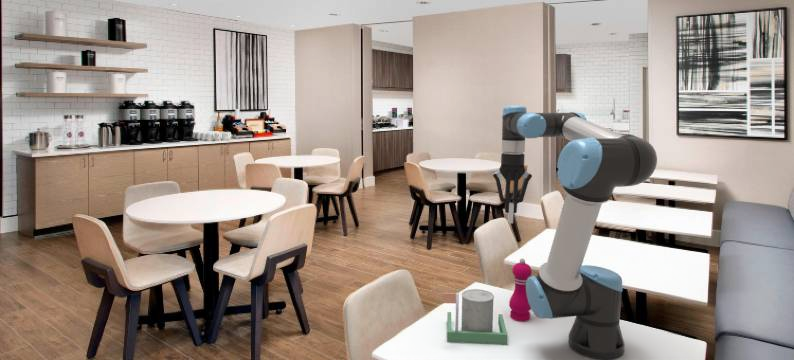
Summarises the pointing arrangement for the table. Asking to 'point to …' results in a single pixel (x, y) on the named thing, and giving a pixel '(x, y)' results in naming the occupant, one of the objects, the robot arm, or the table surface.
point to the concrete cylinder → (477, 310)
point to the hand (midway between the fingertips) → (510, 222)
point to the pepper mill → (520, 292)
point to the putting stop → (471, 335)
